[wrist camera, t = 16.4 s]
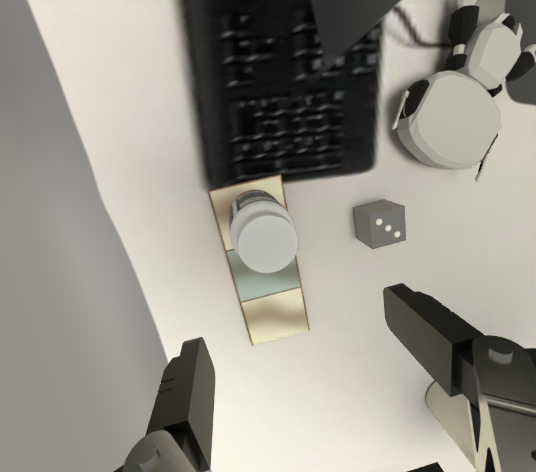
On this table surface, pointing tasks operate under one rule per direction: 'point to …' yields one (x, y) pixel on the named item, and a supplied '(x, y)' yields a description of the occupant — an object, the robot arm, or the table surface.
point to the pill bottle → (262, 231)
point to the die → (380, 223)
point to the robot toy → (463, 92)
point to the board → (262, 284)
